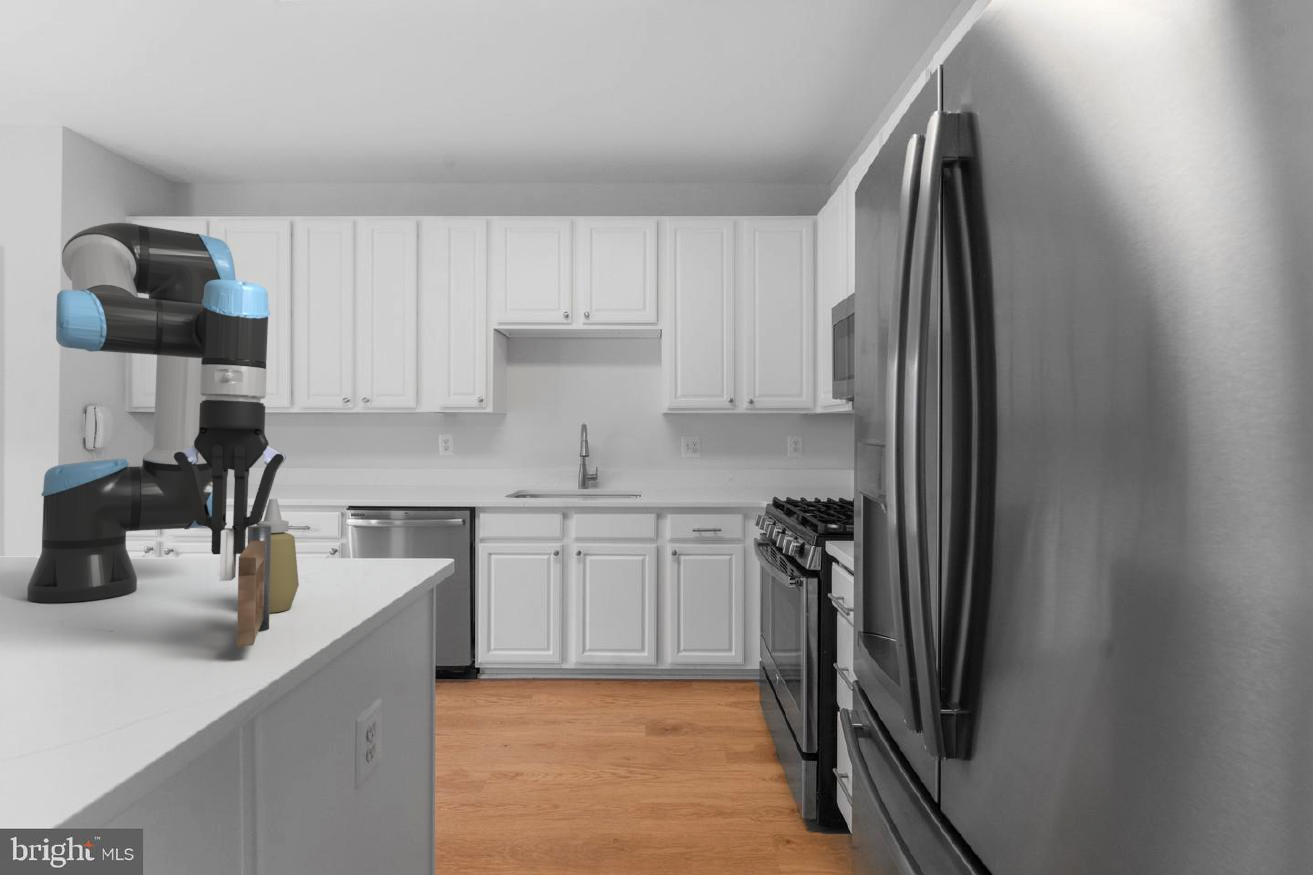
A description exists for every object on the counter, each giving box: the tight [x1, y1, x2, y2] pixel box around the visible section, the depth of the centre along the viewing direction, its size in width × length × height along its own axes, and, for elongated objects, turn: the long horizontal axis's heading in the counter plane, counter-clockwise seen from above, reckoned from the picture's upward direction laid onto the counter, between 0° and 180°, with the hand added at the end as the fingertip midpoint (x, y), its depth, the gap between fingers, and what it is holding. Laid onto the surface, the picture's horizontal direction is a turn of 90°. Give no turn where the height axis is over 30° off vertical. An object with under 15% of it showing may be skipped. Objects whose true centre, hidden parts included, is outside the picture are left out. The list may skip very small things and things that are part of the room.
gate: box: [236, 541, 265, 647], centre depth 100 cm, size 2×15×11 cm, turn 23°
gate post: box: [247, 525, 271, 633], centre depth 109 cm, size 3×3×15 cm
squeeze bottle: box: [255, 498, 300, 614], centre depth 121 cm, size 8×8×18 cm
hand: (227, 578), depth 98 cm, fingers closed
